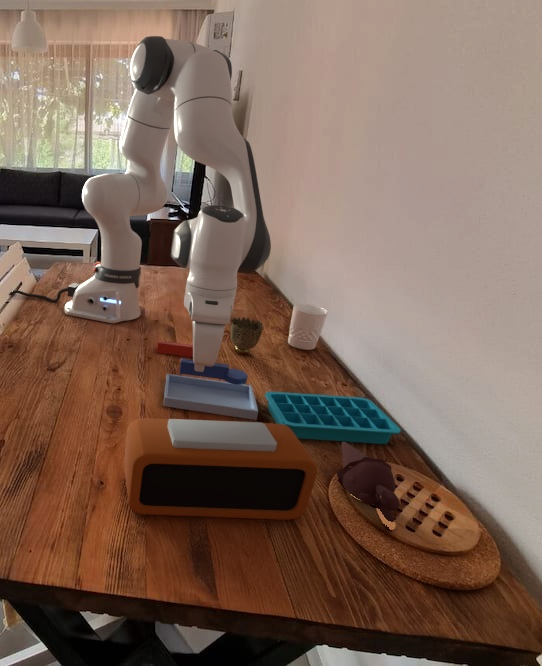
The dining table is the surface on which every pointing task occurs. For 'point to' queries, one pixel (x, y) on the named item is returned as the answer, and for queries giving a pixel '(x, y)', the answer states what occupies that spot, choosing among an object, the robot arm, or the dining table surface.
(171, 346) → the red spoon
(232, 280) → the robot arm
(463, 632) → the dining table surface
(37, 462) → the dining table surface
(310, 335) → the white cup
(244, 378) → the blue spoon
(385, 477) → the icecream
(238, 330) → the cup
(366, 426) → the ice cube tray
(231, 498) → the alarm clock
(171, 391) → the blue tray
